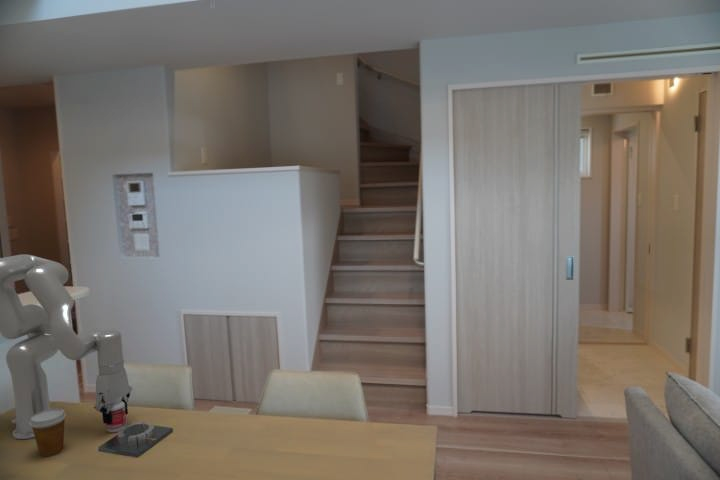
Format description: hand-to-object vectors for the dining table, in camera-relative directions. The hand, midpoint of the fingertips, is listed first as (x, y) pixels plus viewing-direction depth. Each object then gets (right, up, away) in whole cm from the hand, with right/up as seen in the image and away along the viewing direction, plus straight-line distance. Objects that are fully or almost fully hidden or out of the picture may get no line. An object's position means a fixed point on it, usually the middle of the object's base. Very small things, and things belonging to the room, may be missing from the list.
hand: (115, 418), depth 164 cm
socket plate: (+11, -4, -8) cm, 14 cm away
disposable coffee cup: (-13, -6, -13) cm, 20 cm away
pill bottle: (0, -4, 0) cm, 4 cm away
